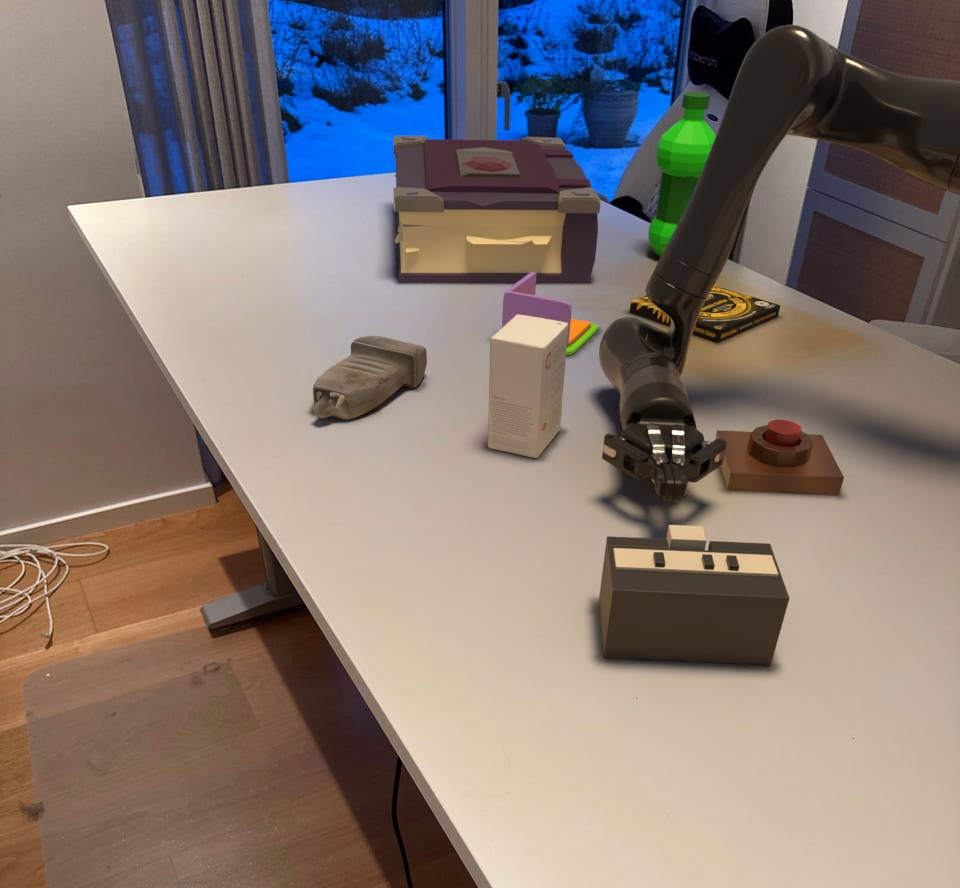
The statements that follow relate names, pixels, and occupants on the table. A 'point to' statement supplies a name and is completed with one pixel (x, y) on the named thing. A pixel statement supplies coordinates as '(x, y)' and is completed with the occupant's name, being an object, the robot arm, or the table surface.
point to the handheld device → (368, 376)
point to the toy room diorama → (545, 311)
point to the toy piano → (691, 601)
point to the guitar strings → (717, 313)
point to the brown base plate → (779, 464)
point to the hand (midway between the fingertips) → (673, 492)
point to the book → (492, 211)
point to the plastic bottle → (680, 167)
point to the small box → (526, 384)
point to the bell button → (782, 433)
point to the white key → (686, 537)
